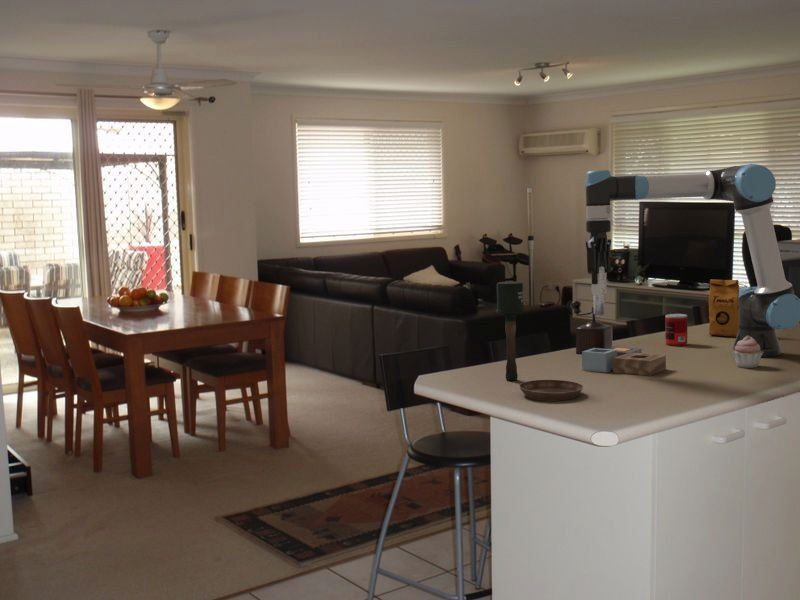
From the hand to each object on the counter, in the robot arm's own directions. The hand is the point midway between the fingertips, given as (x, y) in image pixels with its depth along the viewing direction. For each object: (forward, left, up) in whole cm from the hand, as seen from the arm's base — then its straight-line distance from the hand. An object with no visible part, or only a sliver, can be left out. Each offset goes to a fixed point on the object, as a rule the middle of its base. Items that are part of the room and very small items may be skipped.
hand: (599, 293), depth 284 cm
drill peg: (0, 0, -7) cm, 7 cm away
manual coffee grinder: (+19, -29, -25) cm, 43 cm away
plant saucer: (-6, +42, -25) cm, 49 cm away
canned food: (-2, -58, -25) cm, 63 cm away
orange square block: (-1, -13, -23) cm, 27 cm away
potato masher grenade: (+15, +29, -25) cm, 41 cm away
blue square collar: (0, 0, -24) cm, 24 cm away
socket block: (-12, -4, -24) cm, 27 cm away
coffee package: (-10, -87, -25) cm, 91 cm away
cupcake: (-38, -26, -25) cm, 52 cm away
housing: (-1, -14, -24) cm, 28 cm away
